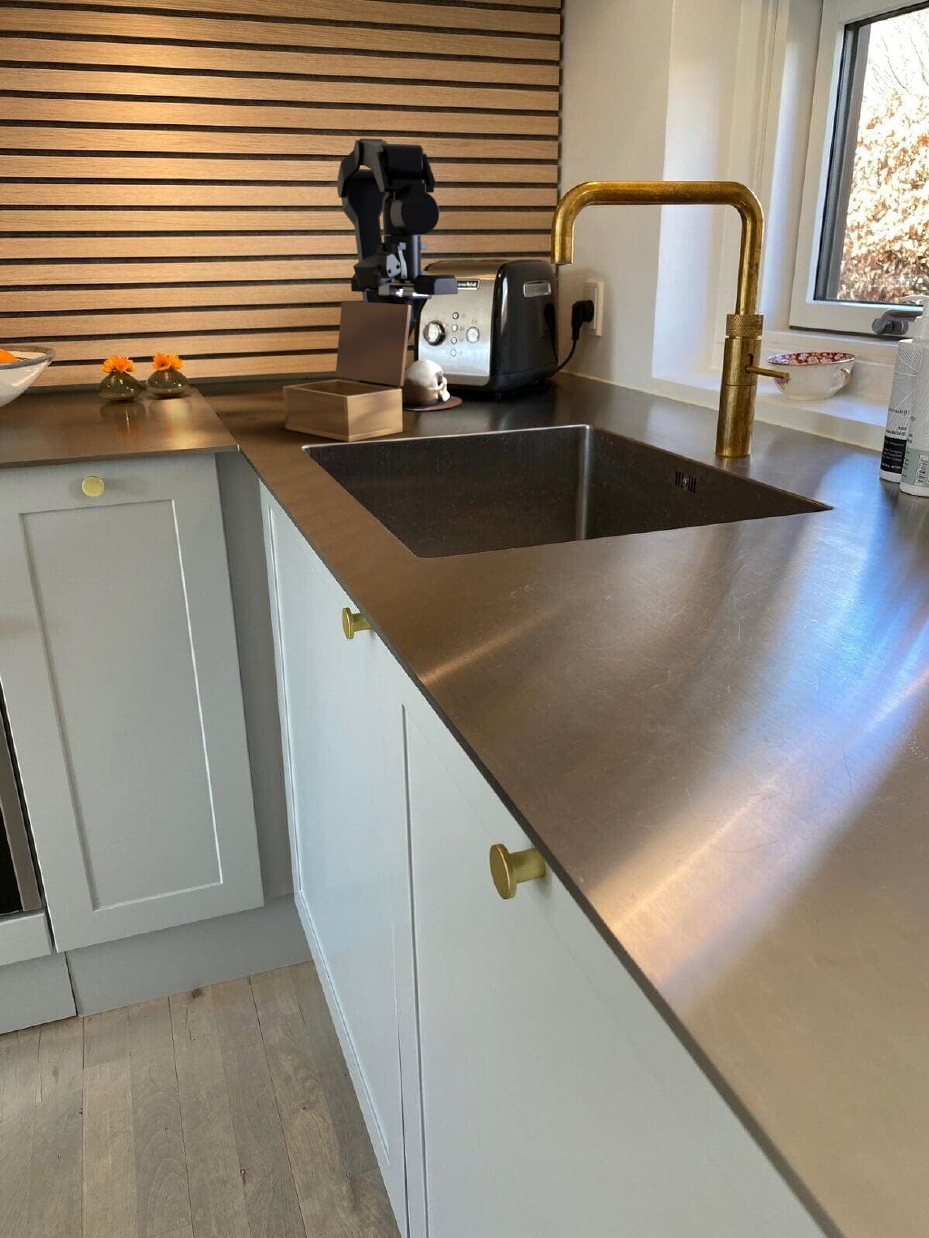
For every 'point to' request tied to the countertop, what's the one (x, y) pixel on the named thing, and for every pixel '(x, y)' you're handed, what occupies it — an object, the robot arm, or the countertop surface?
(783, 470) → the countertop surface
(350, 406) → the chest
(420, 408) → the skull
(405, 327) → the lid
